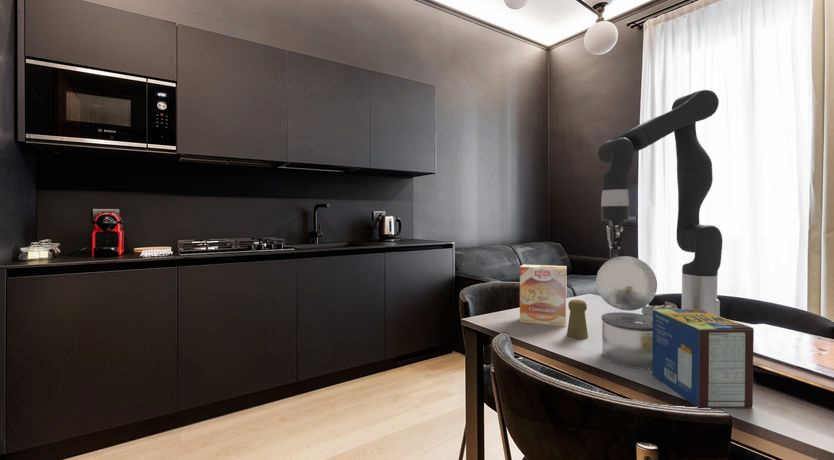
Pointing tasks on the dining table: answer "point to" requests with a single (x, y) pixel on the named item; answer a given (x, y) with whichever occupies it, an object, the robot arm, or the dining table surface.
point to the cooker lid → (626, 283)
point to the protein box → (703, 357)
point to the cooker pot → (627, 339)
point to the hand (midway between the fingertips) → (614, 260)
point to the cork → (577, 320)
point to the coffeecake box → (543, 294)
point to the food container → (649, 310)
